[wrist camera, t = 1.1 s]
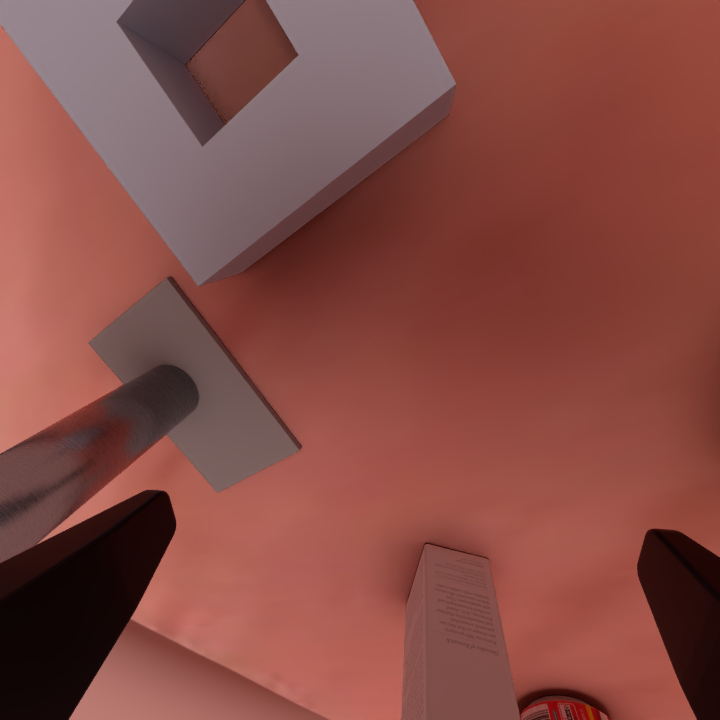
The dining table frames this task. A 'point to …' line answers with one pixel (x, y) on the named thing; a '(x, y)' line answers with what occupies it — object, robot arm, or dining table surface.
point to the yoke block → (250, 125)
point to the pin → (86, 453)
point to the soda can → (561, 710)
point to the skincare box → (455, 642)
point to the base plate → (198, 386)
